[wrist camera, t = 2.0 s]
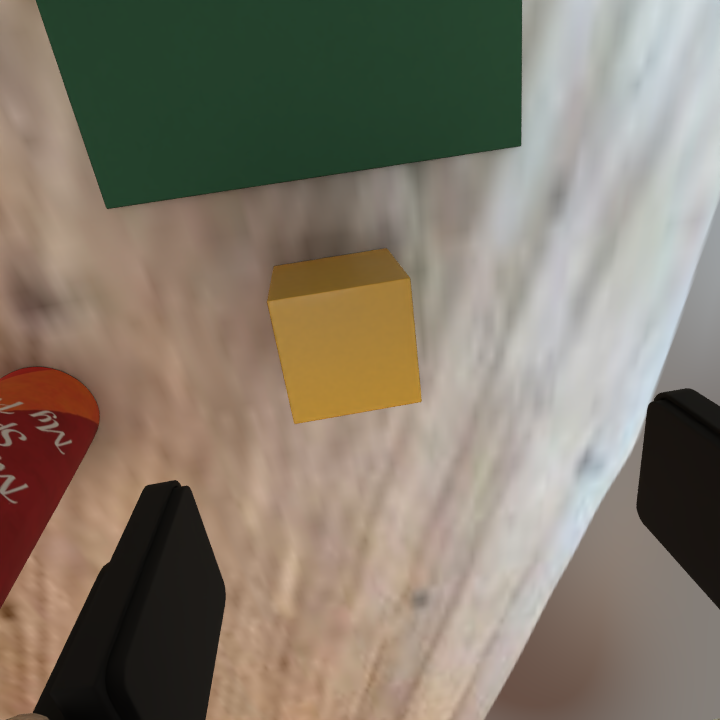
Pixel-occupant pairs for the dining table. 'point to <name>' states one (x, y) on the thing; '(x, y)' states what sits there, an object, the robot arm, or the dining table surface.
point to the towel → (281, 87)
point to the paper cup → (37, 456)
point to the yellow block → (345, 334)
